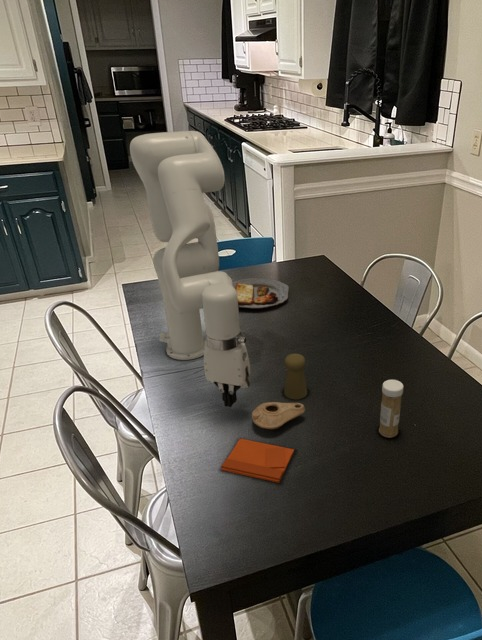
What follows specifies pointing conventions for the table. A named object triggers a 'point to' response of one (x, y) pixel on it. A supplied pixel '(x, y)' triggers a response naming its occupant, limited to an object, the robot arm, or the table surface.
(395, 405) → the sprinkles bottle
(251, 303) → the food plate
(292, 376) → the cork
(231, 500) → the table surface
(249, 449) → the rust cloth
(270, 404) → the pottery oil lamp
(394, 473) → the table surface
